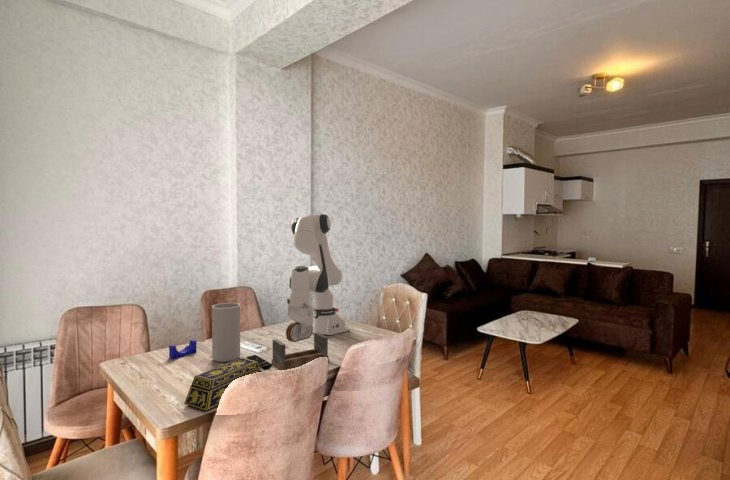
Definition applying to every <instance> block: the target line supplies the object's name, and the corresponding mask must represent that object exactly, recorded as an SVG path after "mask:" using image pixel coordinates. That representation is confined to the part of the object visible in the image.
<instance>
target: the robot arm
mask: <svg viewBox="0 0 730 480" xmlns="http://www.w3.org/2000/svg"><path fill="white" fill-rule="evenodd" d="M331 223H332V222H331V219H330V217H329V216H328V214H323V213H321V214H310V215H306V216H305V215H304V216H301V217H296V218H294V219H292V221H291V225H290V229H291V232H292V234H293V235H294V237H293V243H294V246H295V248H296V250H297V251H299V252H300V253H302V254H305V255H307V256H310V258H311V260H312V261H314V264H316V265H310V266H309V267H307V266H305V265H299V266H295V267H293V268H292V270H291V275H290V277H289V289H290V290H291V293H290V298H286V303H287V316H288V319H290V320H292V321H293V323H295V322H298V323H300V324H301V329H300V333H305V328H306V327H307V326H312V325H313V332H312V334H314V333H317V332H318V333H320V334H322V335H324V336H333V335H336V334H341V333H345V332H348V330H349V331H350V329H349V327H348V326H347V325H346V323H345V319H344V318H343V317H341V316H340V315H339V314H337V313H338V312H339V310H340V309H339V308H337V307H334V295H333V294H334V293H333V292H332V291H331V290H330V288H329V287H330V286H337V285H339V284H340V283H341V282H342V280H343V272H342V270H341V269H339V268H338V266H337V265H336V263H335V262H334V260H333V257H332V255H331V253H330V248H329V243H328V238H327V233H329V232H330V230H331V227H332V226H331V225H332V224H331ZM311 293H313V299H314V302H313V306H314V307H313V309H312V308H311Z"/></svg>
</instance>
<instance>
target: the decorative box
mask: <svg viewBox="0 0 730 480" xmlns="http://www.w3.org/2000/svg"><path fill="white" fill-rule="evenodd" d="M261 369H262V368H261V366H260V364H259V362H258V361H257V360H254V359H249V358H246V357H239V358H238V359H236V360H233V361H229V362H226V363H225V364H222V365H220V366H217V367H214V368H212V369H210V370H207V371H204V372H201V373H200V374H197V375H195V376H194V377H193V379H192V382H191V385H190V388H189V389H188V393H187V394H186V395H187V396H186V398H185V401H184V406H185V405H186V406H188V407H192V408H195V409H199V410H202V411H205V412H206V411H208V410H210V409H212V408H214V407H217V406H218V405H220V404H219V401H220V399H221V396H222V394H223V393H224V391H225V389H226V388H227V387H228V385H229V384H230V383H231V382H232V381H233V380H235V379H237V378H239V377H242V376H245V375H249V374H253V373H256V372H262V373H263V371H262V370H261Z"/></svg>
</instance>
